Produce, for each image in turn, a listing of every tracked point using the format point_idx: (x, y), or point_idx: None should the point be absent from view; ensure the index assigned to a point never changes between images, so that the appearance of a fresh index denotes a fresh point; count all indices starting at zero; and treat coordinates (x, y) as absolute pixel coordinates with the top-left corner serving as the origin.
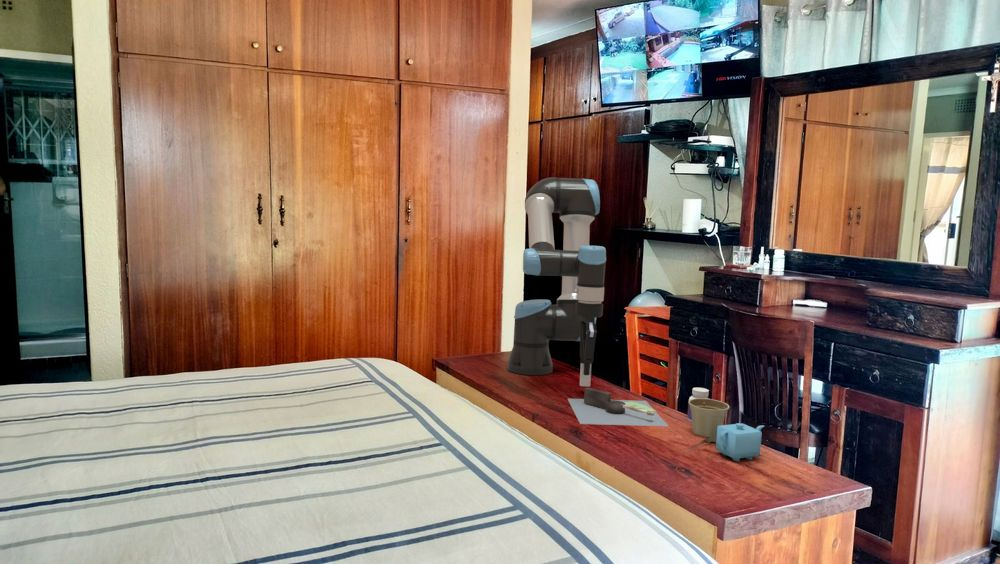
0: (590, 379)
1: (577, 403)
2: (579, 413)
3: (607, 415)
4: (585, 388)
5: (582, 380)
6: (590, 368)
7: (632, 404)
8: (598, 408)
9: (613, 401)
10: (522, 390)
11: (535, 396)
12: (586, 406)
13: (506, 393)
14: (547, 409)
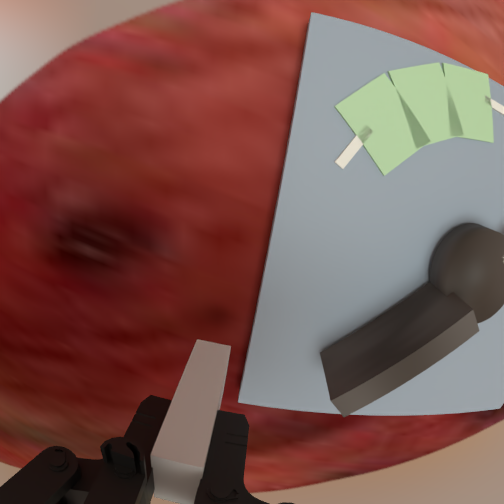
0: (224, 373)
1: (319, 387)
2: (433, 402)
3: None
4: (348, 414)
5: (219, 407)
6: (209, 435)
7: (391, 122)
8: None
9: (464, 281)
10: (87, 440)
11: None
12: None
13: None
14: (300, 451)
